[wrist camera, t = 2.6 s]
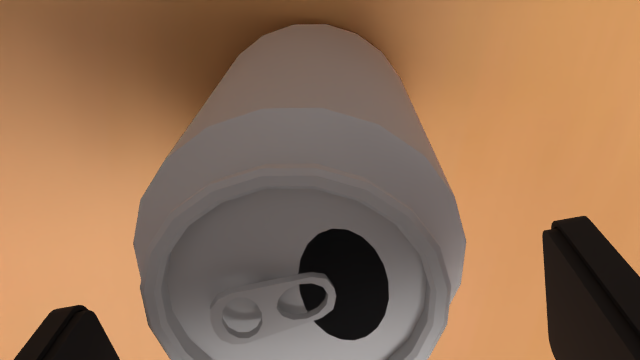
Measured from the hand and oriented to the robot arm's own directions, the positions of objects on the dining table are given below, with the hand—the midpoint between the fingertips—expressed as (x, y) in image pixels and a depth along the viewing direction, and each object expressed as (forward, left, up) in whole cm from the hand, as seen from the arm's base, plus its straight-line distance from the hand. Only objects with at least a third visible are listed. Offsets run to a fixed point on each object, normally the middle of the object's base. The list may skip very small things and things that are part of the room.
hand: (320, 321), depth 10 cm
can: (0, 0, -12) cm, 12 cm away
